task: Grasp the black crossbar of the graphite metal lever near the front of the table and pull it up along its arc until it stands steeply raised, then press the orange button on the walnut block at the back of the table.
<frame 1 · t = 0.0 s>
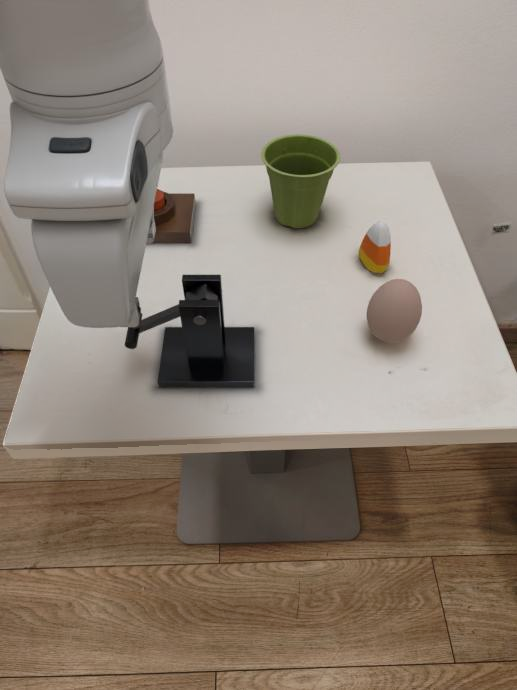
hand: (137, 276, 42), 25 cm above the table, tool pointing down, fingers open, 8 cm apart
bracket: (208, 358, 68), on the table
lever: (168, 314, 61), point 9 cm above the table, hinge at -30.0°
plant pot: (296, 216, 86), on the table
button block: (157, 222, 85), on the table
button: (152, 199, 81), point 5 cm above the table, slide at 0.2 cm
egg: (386, 336, 70), on the table
candy corn: (371, 265, 79), on the table
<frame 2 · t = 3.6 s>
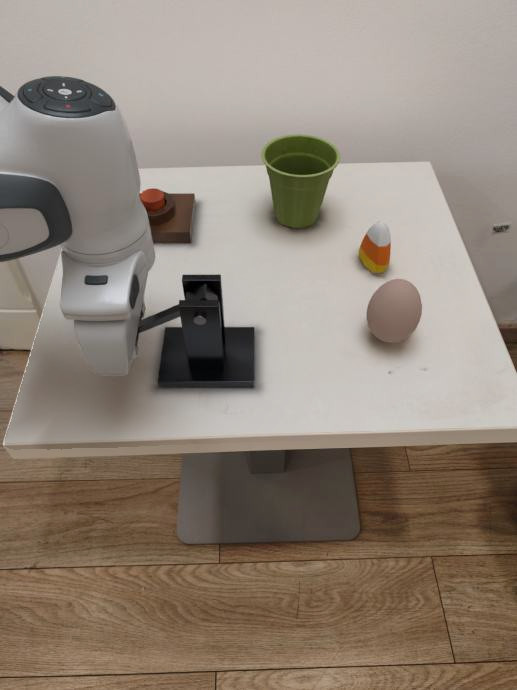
hand: (134, 334, 63), 5 cm above the table, tool pointing down, fingers closed on lever, 5 cm apart
lever: (168, 314, 61), point 9 cm above the table, hinge at -30.0°, touching gripper
everything else where it was.
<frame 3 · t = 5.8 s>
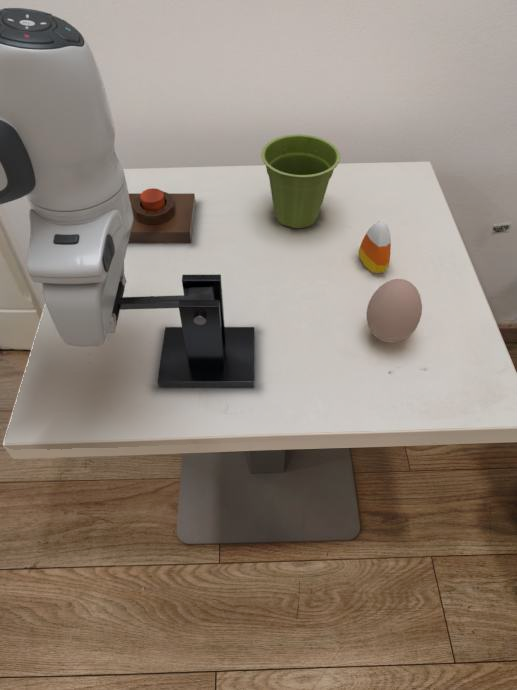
hand: (113, 307, 60), 10 cm above the table, tool pointing down, fingers closed on lever, 5 cm apart
lever: (160, 302, 59), point 11 cm above the table, hinge at -2.4°, touching gripper
everything else where it was.
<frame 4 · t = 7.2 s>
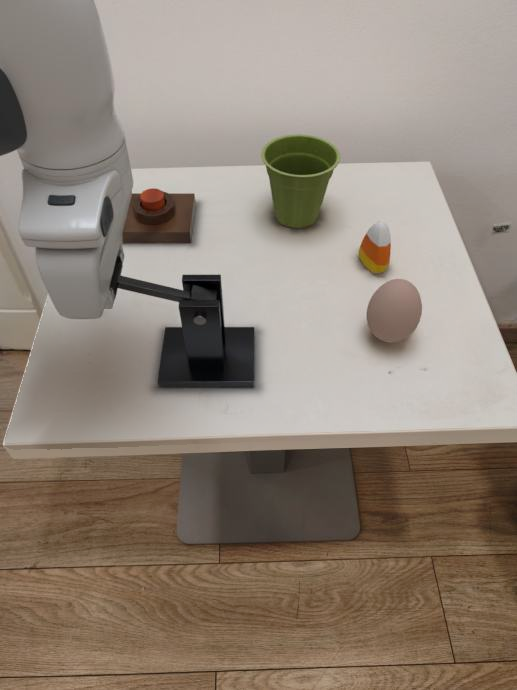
hand: (111, 283, 57), 14 cm above the table, tool pointing down, fingers closed on lever, 5 cm apart
lever: (161, 291, 58), point 13 cm above the table, hinge at 19.3°, touching gripper
everything else where it was.
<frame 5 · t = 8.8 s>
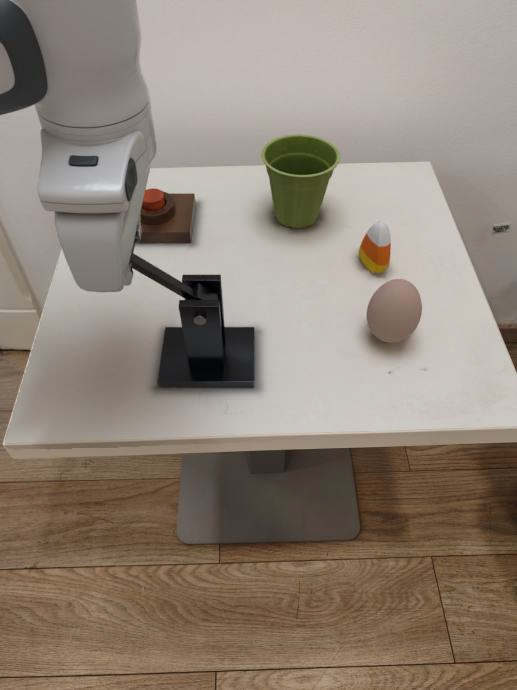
hand: (129, 259, 54), 17 cm above the table, tool pointing down, fingers closed on lever, 5 cm apart
lever: (167, 281, 56), point 14 cm above the table, hinge at 42.6°, touching gripper
everything else where it was.
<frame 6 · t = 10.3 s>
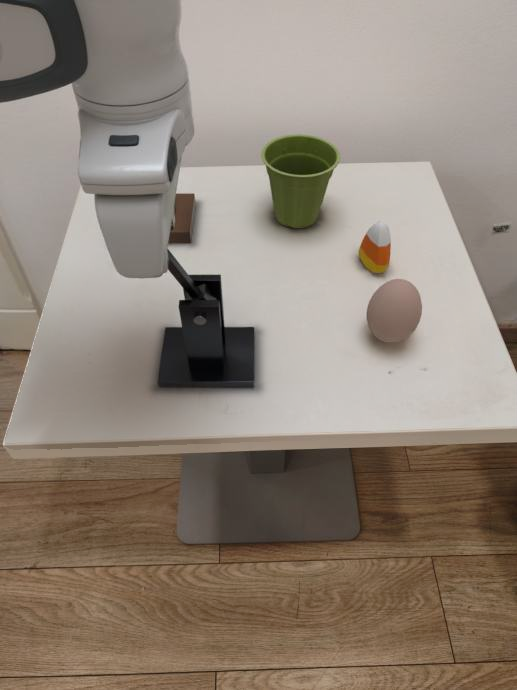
hand: (163, 246, 53), 19 cm above the table, tool pointing down, fingers closed on lever, 5 cm apart
lever: (179, 274, 56), point 15 cm above the table, hinge at 64.9°, touching gripper
everything else where it was.
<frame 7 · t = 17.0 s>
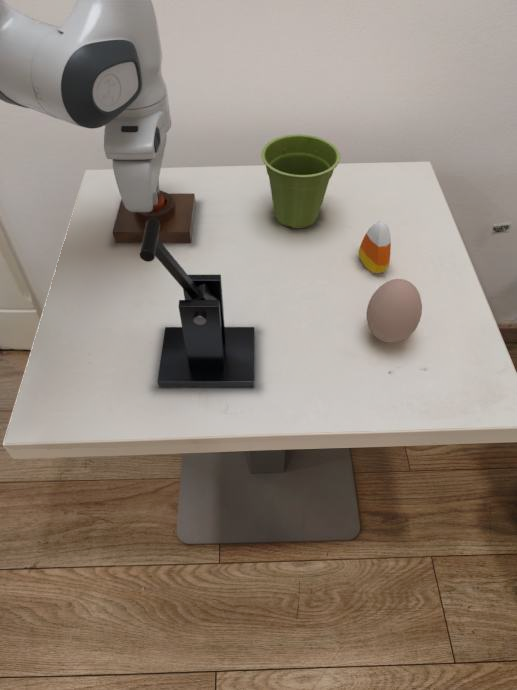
hand: (153, 199, 81), 5 cm above the table, tool pointing down, fingers closed, pressing on button
lever: (179, 274, 56), point 15 cm above the table, hinge at 63.8°
button: (153, 204, 82), point 4 cm above the table, slide at -0.7 cm, touching gripper
everything else where it was.
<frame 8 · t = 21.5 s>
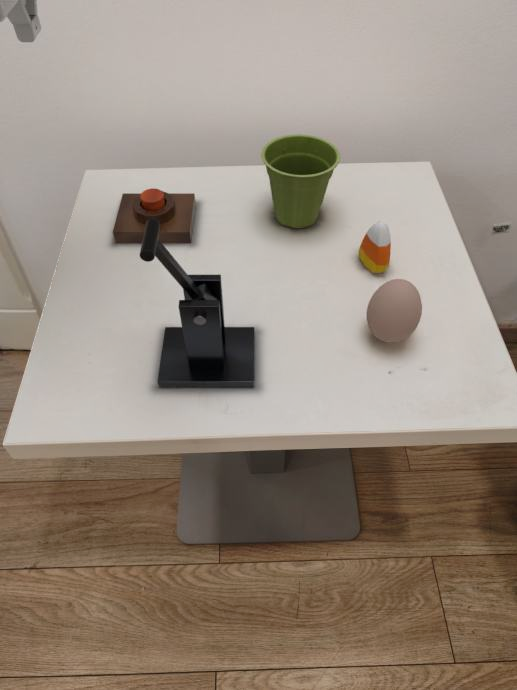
hand: (30, 36, 56), 31 cm above the table, tool pointing down, fingers closed
button: (152, 199, 81), point 5 cm above the table, slide at 0.1 cm
everything else where it was.
at the end: lever at +64° (first picture: -30°); button pushed in 1.0 cm at the most during the clip, back to where it started at the end; button slide at 0.1 cm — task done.
